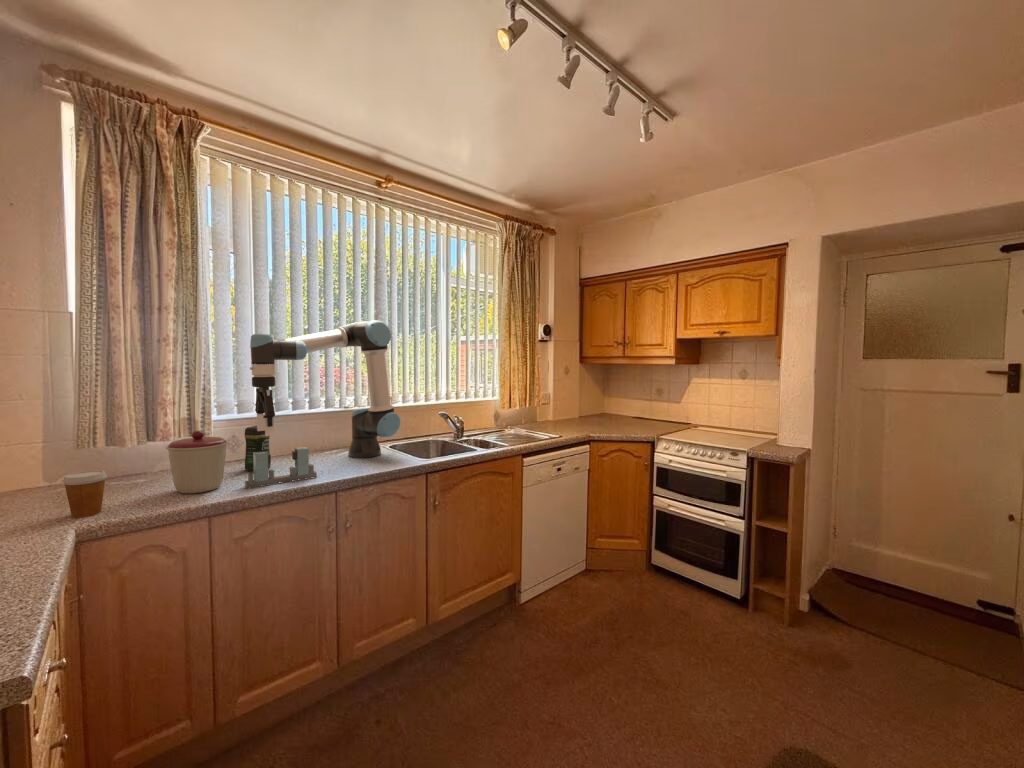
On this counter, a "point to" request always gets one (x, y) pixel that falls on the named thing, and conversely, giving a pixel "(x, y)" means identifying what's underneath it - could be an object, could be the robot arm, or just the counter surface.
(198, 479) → the canister
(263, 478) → the grey rectangular block
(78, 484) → the disposable coffee cup
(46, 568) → the counter surface
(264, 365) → the robot arm
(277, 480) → the rail
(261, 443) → the coffee jar
